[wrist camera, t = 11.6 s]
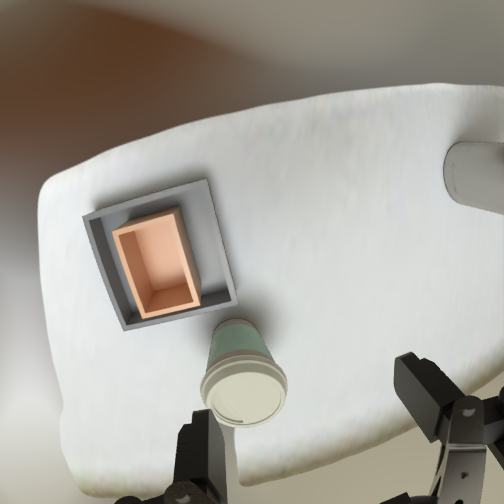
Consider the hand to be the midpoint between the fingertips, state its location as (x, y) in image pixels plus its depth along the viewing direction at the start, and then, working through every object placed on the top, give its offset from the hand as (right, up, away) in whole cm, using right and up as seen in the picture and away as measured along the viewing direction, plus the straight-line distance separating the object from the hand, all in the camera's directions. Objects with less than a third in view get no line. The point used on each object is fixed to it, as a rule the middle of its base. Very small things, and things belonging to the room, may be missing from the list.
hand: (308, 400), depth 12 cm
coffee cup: (-4, -5, +27) cm, 27 cm away
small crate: (-12, +6, +22) cm, 26 cm away
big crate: (-12, +6, +22) cm, 26 cm away
